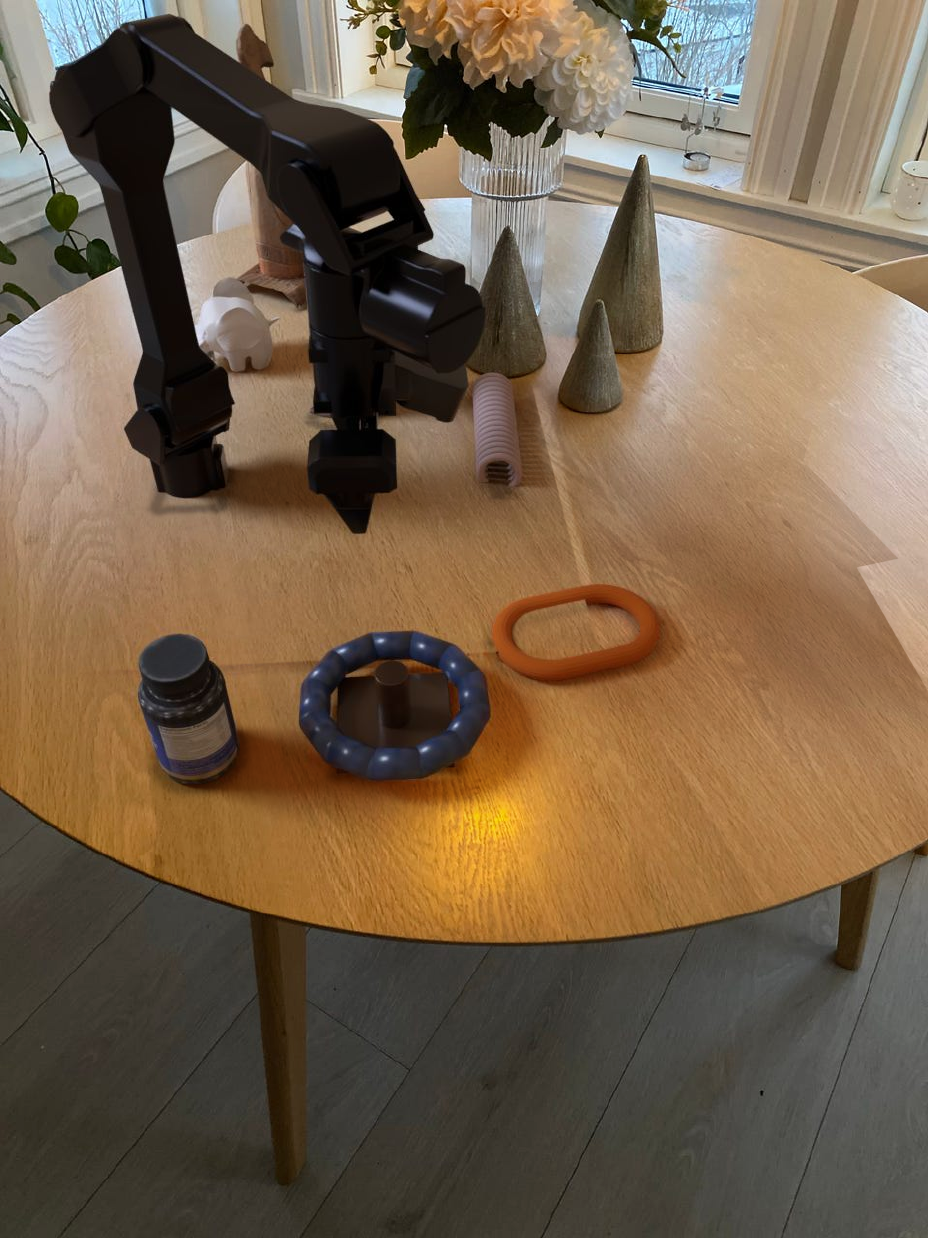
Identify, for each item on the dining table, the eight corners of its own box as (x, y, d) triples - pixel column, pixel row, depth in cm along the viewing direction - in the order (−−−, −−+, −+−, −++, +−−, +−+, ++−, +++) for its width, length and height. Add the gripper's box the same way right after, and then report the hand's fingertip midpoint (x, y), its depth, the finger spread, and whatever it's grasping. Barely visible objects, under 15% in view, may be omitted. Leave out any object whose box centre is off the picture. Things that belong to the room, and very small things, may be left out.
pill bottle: (166, 727, 76) (135, 627, 68) (244, 723, 76) (221, 623, 69) (154, 790, 72) (119, 691, 64) (237, 785, 72) (212, 686, 64)
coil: (526, 460, 96) (515, 370, 109) (479, 456, 95) (474, 366, 108) (518, 498, 99) (509, 406, 112) (474, 494, 99) (469, 402, 112)
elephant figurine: (184, 349, 121) (169, 281, 114) (279, 337, 123) (270, 270, 117) (191, 387, 114) (176, 316, 108) (291, 373, 117) (282, 303, 110)
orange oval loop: (476, 603, 84) (632, 571, 88) (476, 617, 86) (629, 585, 89) (513, 681, 78) (680, 643, 81) (512, 695, 79) (677, 657, 82)
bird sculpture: (342, 277, 136) (322, 17, 114) (299, 311, 129) (269, 39, 107) (275, 263, 140) (243, 7, 118) (229, 295, 132) (185, 27, 110)
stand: (336, 774, 73) (329, 721, 69) (338, 686, 79) (332, 633, 75) (454, 767, 73) (455, 714, 69) (447, 681, 80) (447, 628, 76)
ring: (296, 792, 70) (293, 772, 68) (305, 649, 81) (302, 629, 79) (497, 781, 71) (499, 761, 69) (479, 642, 82) (480, 621, 80)
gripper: (471, 387, 62) (465, 569, 73) (454, 262, 75) (451, 432, 86) (297, 389, 61) (317, 573, 72) (311, 262, 74) (326, 434, 85)
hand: (359, 497), depth 79 cm, fingers open, 9 cm apart
